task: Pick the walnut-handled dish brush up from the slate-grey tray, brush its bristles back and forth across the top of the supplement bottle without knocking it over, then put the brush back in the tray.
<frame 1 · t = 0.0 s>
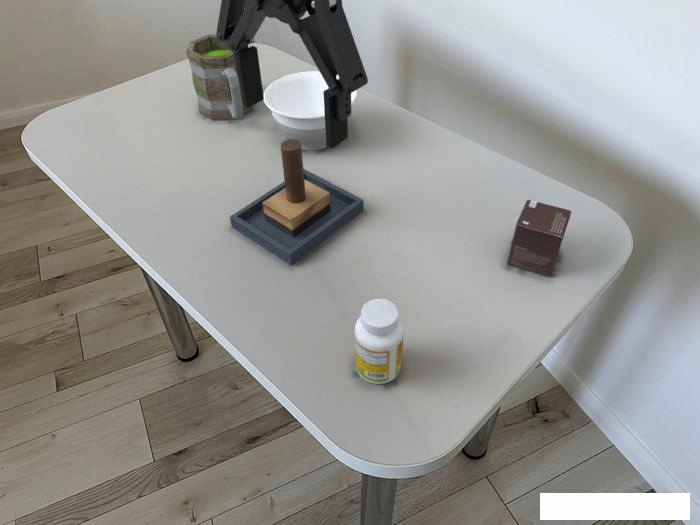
hand: (293, 121, 66), 21 cm above the table, tool pointing down, fingers open, 13 cm apart
supplement bottle: (378, 366, 68), on the table
brush: (298, 215, 86), point 1 cm above the table, touching tray
box: (532, 258, 80), on the table
mug: (230, 113, 110), on the table
bowl: (313, 137, 103), on the table
tray: (298, 218, 87), on the table
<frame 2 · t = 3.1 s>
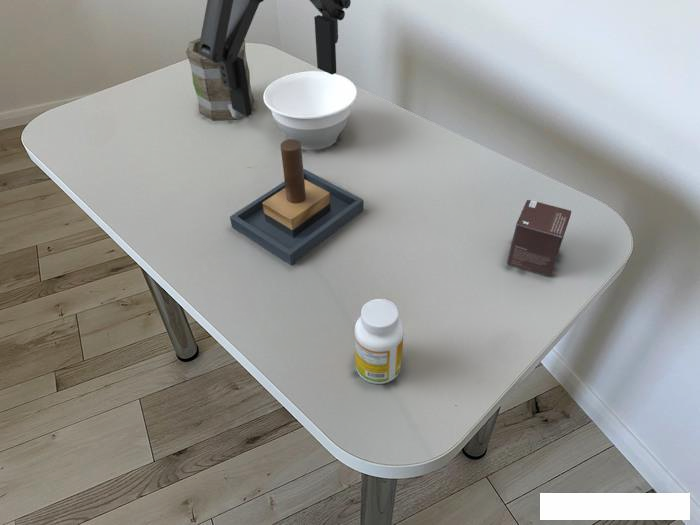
hand: (286, 90, 70), 22 cm above the table, tool pointing down, fingers open, 13 cm apart
nothing on the table moved.
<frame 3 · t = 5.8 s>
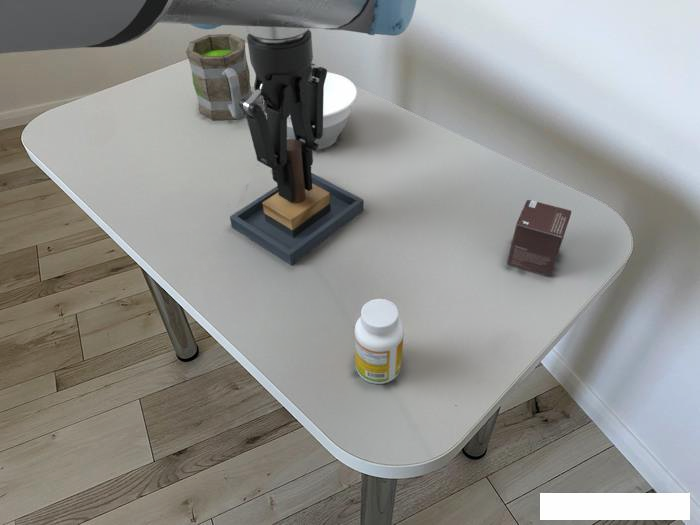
hand: (295, 191, 83), 5 cm above the table, tool pointing down, fingers closed on brush, 3 cm apart
brush: (298, 215, 86), point 1 cm above the table, touching gripper, tray
everything else where it was.
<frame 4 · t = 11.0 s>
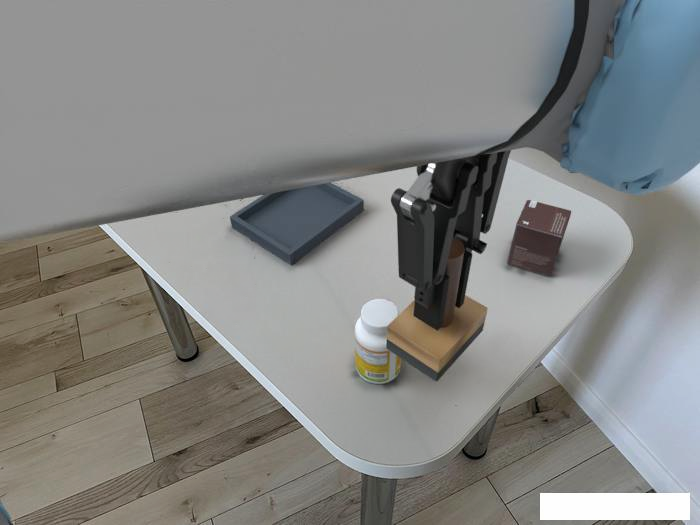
hand: (438, 309, 54), 15 cm above the table, tool pointing down, fingers closed on brush, 3 cm apart
brush: (435, 339, 57), point 11 cm above the table, touching gripper
everything else where it was.
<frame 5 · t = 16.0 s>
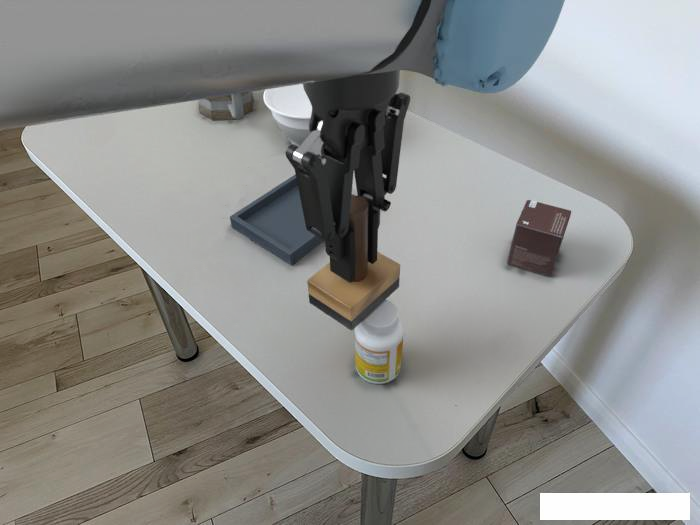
hand: (354, 265, 59), 15 cm above the table, tool pointing down, fingers closed on brush, 3 cm apart
brush: (354, 294, 62), point 10 cm above the table, touching gripper
everything else where it was.
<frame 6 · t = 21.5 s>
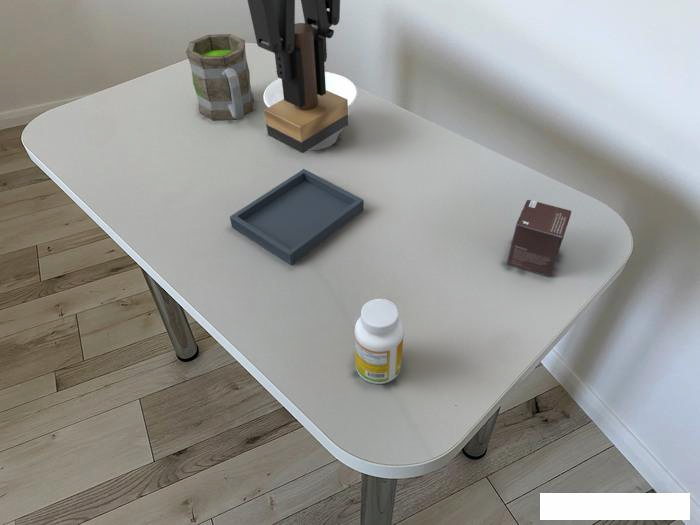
hand: (305, 96, 67), 23 cm above the table, tool pointing down, fingers closed on brush, 3 cm apart
brush: (308, 130, 70), point 18 cm above the table, touching gripper
everything else where it was.
when the fingers open (5 cm above the table, at t = 26.1 s): brush stays where it is, resting on tray.
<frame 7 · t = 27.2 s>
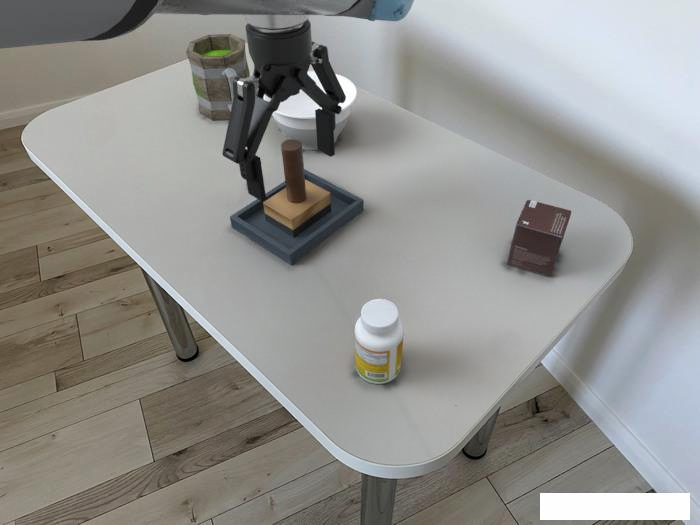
hand: (293, 173, 81), 8 cm above the table, tool pointing down, fingers open, 13 cm apart
brush: (298, 215, 86), point 1 cm above the table, touching tray
everything else where it was.
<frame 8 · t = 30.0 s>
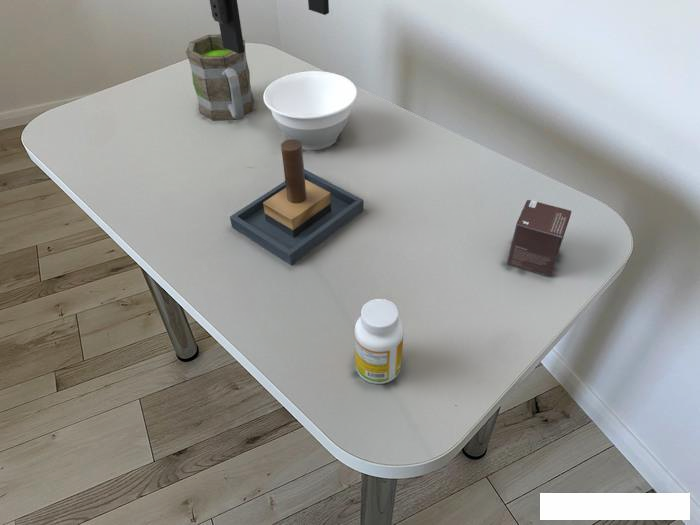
hand: (278, 29, 67), 29 cm above the table, tool pointing down, fingers open, 13 cm apart
nothing on the table moved.
at the end: brush inside the target area in the tray (0.1 cm from its centre), point 0.6 cm above the tray's base; supplement bottle tilted 0°; supplement bottle moved 0.2 cm from its start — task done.
